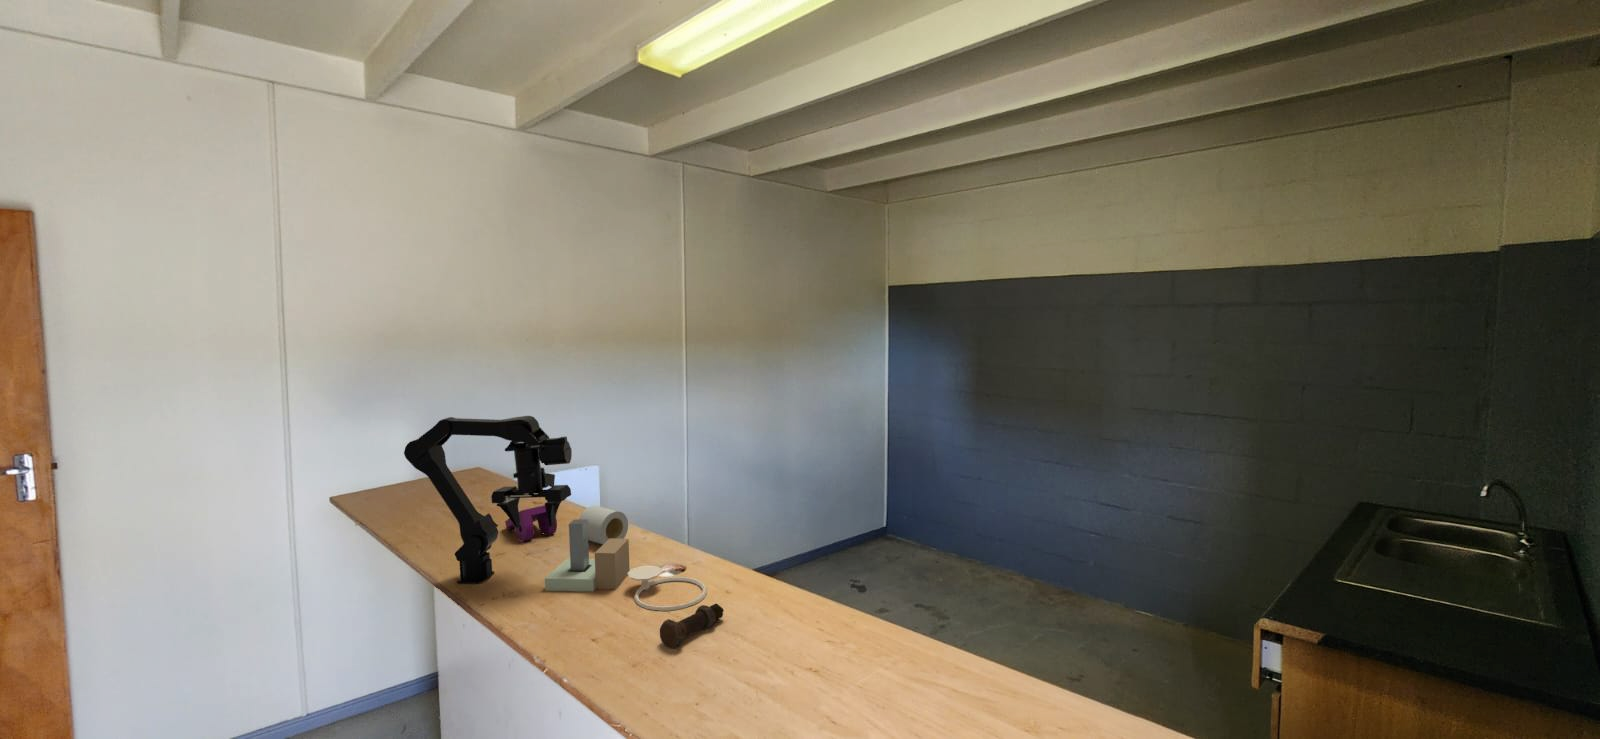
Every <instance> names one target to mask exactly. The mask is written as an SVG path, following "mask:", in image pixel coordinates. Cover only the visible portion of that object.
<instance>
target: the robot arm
mask: <svg viewBox="0 0 1600 739" xmlns="http://www.w3.org/2000/svg"><path fill="white" fill-rule="evenodd" d="M538 421H539V420H537V419H536V418H535V417H534V416H532V415H523V416H516V417H509V418H504V419H490V418H489V419H487V418H486V419H485V418H463V417H462V418H460V417H459V418H458V417H457V418H456V417H452V416H450V417H445V418H442V419H440V420H439V421H438V422H437V423H436V424H434V426H433V427H431V428H430V429H429V430H427V431H426V432H424V433H423V434H422V435H421V436H419V437H418V438H417V439H413V440H411V441H409V442H408V443H407V444H406V446H405V448H404V451H403V455H404V458H405V459H406V460H407V461H408V462H409V463H410V465H412V467H414V469H415V470H416V471H417V470H418V471H419V472H421V473H423V474H424V475H426V477H428V479H429V481H430V482H431V484H432V485H433V487H434V488H435V490H436V491H437V492H438V494H439V496H440V497H441V499H442V500H443V501H444V503H445V504H446V506H447V507H448V509H449V511H450V512H451V513H452V515H453V517H454V518H455V519H456V520H457V522H458V527H459V535H460V538H461V540H462V543H463V544H462V545H461V546H460V547H459V548H458V549H457V550H456V551H455V552H454V556H455V559H456V561H458V562H459V577H460V578H458V579H457V580H456V583H458V584H483V582H485V581H486V580H487V579H489V578H490V577H491V576H493V575H494V574H495V571H494V570H493V561H492V560H493V559H492V558H491V554H490V552H488V550H490V549H491V548H492V545H493V543H494V542H496V540H497V539H498V537H499V536H498V535H499V529H498V527H499V524H497V523H496V522H495V520H494V519H493V516H492V515H491V513H489V512H488V513H487V514H485V515H483V514H481V513H480V512H479V511H478V510H477V509H476V508H475V506H474V505H473V503H472V502H471V500H470V498H469V497H468V495H467V494H466V492H465V491H464V489H463V488H462V486H461V485H460V483H459V482H458V480H457V479H456V477H455V476H454V474H453V473H452V471H451V470H450V468H449V467H448V464H447V460H446V452H445V450H444V447H443V445H445V444H446V443H447V442H448V441H449V439H450V438H451V437H452V436H474V437H475V436H476V437H477V436H480V437H498V438H500V439H503V440H506V441H510V443H509V444H508V445H507V446H506V447H505V448H504V451H505V452H513V453H514V454H513V455H514V465H515V472H514V473H513V479H516V482H517V483H516V484H517V486H502V487H500V488H498V489H496V490H494V491H493V492H492V493H491V495H490V498H491V499H490V500H491V504H496V506H497V507H499V508H500V509H501V510H502V511H503V512H504V513H505V514H506V515H507V517H508V519H509V518H510V520H511V521H512V523H513V524H514V525H515V527H516V528H518V527H520V518H519V512H520V510H519V502H520V499H524V498H525V499H526V498H528V499H529V498H531V499H532V498H533V499H534V498H544V500H545V501H546V502H545V503H544V505H545V508H546V513H547V519H548V523H549V526H550V527H553V525H554V522H555V518H556V519H557V514H558V510H559V508H560V504H562V502H563V501H565V500H567V498H568V497H570V496H572V491H571V490H572V489H571V487H570V486H569V485H568V484H555V479H556V475H555V474H554V473H547V472H545V467H541V464H544V466H556V465H569V464H570V463H571V461H572V451H573V450H572V447H571V445H570V444H571V443H570V442H569V441H568V437H567V436H560V437H552V438H551V437H550V436H549V435H548V434H547V433H546V432H545V431H544V430H543V428H541V427H540V423H539V422H538ZM548 487H549V488H548ZM545 488H548V489H545Z"/></svg>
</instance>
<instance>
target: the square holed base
mask: <svg viewBox="0 0 1600 739" xmlns="http://www.w3.org/2000/svg"><path fill="white" fill-rule="evenodd" d="M629 543H630V540H629V538H624V539H609V540H607V541H606V542H605V543H604V544H603V545H602V544H601V546H600V547H599V548H598V549H596V551H595V552H594V558H592V557H591V558H590V557H589V569H588V570H587V571H586V572H571V565H570V557H567V558H566V559H565V560H564V561H562V562H561V563H560V564H559V565H558V566H557V567H556V568H554V569H553V570H552V571H551V572H550V573H549V574H548V575H547V576H546V577H545V578H544V591H548V592H549V591H550V592H551V591H554V592H557V591H558V592H559V591H560V592H593V593H594V592H595V591H596V590H618V587H620V585H621V584H622V583H623V581H625V579H626V578H627V577H628V576H629V575H628V574H627V573H628V572H629V571H630V570H631V569H630V547H629V546H630V544H629Z"/></svg>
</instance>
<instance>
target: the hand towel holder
mask: <svg viewBox="0 0 1600 739" xmlns="http://www.w3.org/2000/svg"><path fill="white" fill-rule="evenodd" d="M662 572H663V570H662V568H661V567H660V566H655V565H640V566H637V567H634V568H631V569H630V571H629V572H628V573H627V574H628V575H627V576H628V577H629V579H631V580H635V581H639V582H640V581H641V586H640V587H638V589H637V590H636V592H635V593H634V598H633V599H634V601H635V603H636V604H637V605H638V606H639V607H641V608H643V609H646V610H649V609H651V610H650V611H655V610H659V611H658V612H670V610H671V611H678V610H682V608H683V609H687V608H689V607H688V606H690V607H692V606H691V605H693V606H694V604H695V605H697V604H698V603H700V602H701V601H702V600H704V598H705V597H706V595H707V593H708V591H707V590H708V589H707V587H706V586H705V584H704V583H703V582H701V581H700V580H698V579H695V578H692V577H686V576H672V577H671V576H669V577H663V578H659V579H655V578H657V577H658V576H659V575H660V574H661V573H662ZM653 579H655V580H653ZM650 580H652V581H650ZM671 582H682V583H683V582H685V583H690V582H691V584H693V585H697V586H698V587H700V588H701V589H702V590H701V591H702V593H701V594H700V595H699V596H698V597H696V598H695V599H694V600H691V601H688V602H686V603H683V604H677V605H669V606H656V605H651V604H647V603H646V602H643V601H641V600H640V594H641V593H642V592H643V591H647V590H649V589H650V587H652V585H653V586H655V585H658V584H663V583H664V584H665V583H671ZM696 603H697V604H696ZM686 607H687V608H686Z"/></svg>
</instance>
